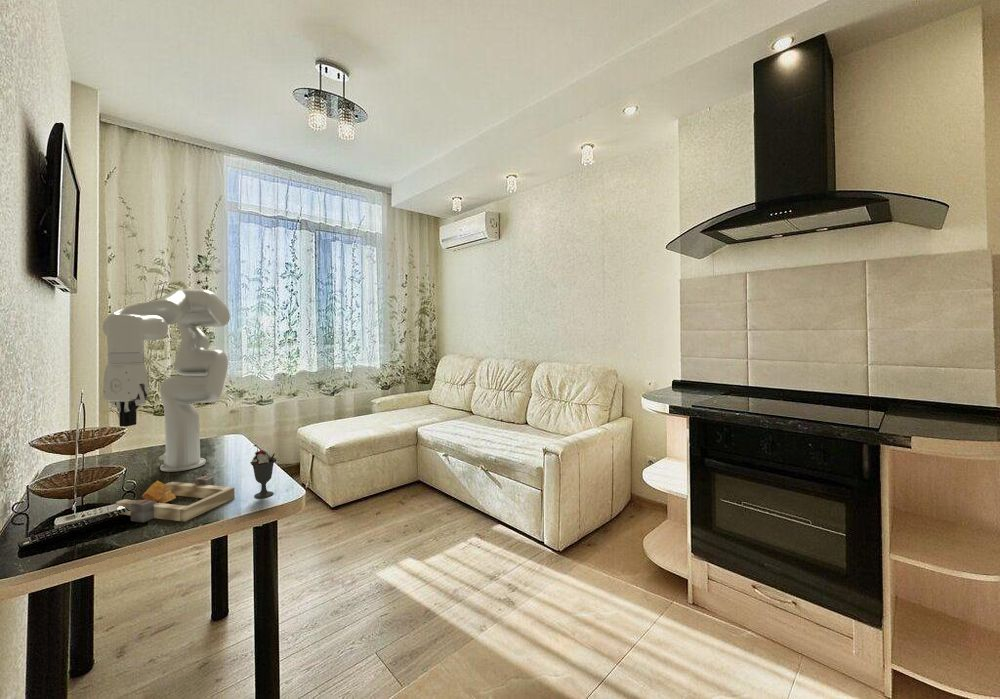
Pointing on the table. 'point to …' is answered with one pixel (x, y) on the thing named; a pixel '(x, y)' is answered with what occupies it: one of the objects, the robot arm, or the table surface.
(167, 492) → the pyrite
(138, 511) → the light wooden frame
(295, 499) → the table surface
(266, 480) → the sundae
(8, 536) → the table surface
